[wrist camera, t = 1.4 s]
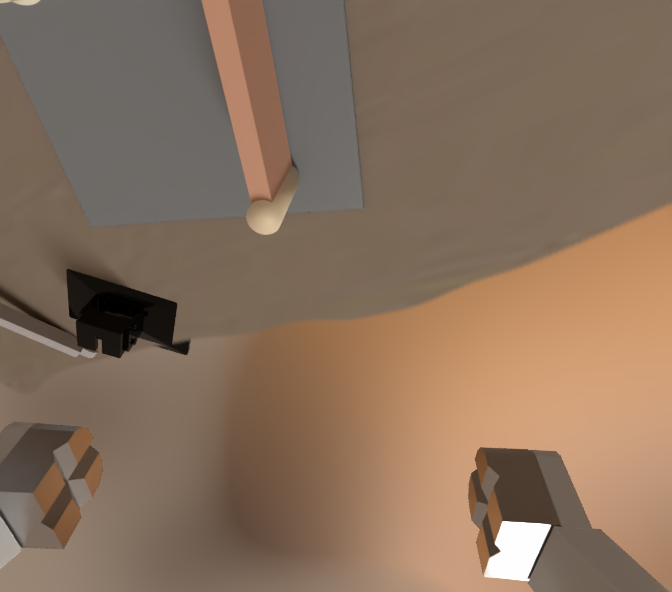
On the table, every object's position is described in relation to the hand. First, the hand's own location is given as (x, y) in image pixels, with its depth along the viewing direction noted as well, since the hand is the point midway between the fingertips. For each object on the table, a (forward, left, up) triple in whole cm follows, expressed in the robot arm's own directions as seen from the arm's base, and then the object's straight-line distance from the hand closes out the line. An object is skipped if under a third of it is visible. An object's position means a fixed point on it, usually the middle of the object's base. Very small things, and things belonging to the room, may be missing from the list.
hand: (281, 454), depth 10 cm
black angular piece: (+22, +14, -25) cm, 36 cm away
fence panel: (+5, -3, -24) cm, 24 cm away
